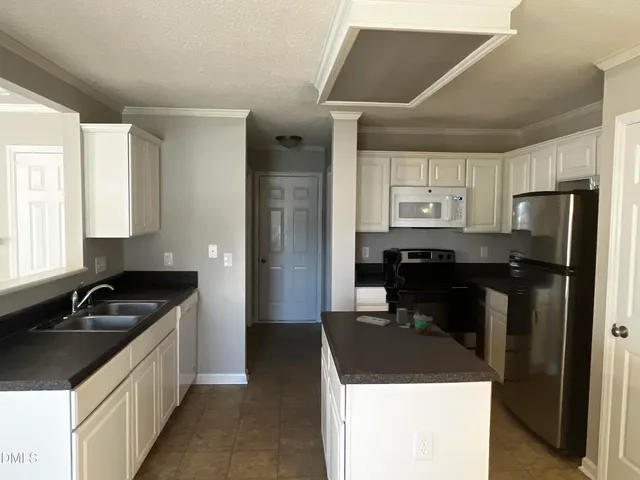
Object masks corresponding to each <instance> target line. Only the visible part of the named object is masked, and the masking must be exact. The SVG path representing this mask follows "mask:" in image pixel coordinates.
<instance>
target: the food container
mask: <svg viewBox="0 0 640 480" xmlns="http://www.w3.org/2000/svg"><path fill="white" fill-rule="evenodd" d="M413 319H414V323H415V324H414V326H415V334H418V335H421V336H431V332H432V325H433V324H432V323H433V316H427V315H425V314H421V313H420V312H418V311H417V312H414V315H413Z"/></svg>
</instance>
